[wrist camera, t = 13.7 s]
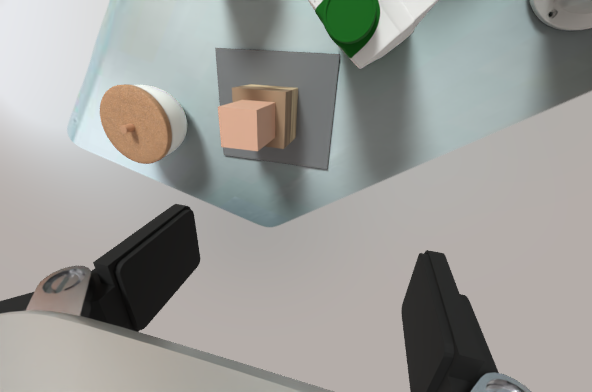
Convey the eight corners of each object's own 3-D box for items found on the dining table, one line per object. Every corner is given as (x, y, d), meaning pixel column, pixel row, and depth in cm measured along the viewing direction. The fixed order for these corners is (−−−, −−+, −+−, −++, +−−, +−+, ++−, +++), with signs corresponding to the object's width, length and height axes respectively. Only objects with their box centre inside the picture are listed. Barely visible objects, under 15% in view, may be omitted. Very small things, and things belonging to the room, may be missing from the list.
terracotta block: (275, 102, 37) (256, 110, 31) (275, 137, 40) (257, 151, 34) (242, 99, 38) (217, 106, 32) (244, 134, 41) (221, 146, 35)
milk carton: (327, 22, 38) (289, -11, 21) (382, -37, 34) (392, -140, 16) (364, 73, 40) (358, 81, 22) (421, 23, 35) (468, -15, 18)
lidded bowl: (172, 160, 55) (130, 180, 46) (129, 107, 52) (75, 117, 43) (212, 127, 50) (174, 143, 40) (166, 65, 47) (113, 66, 37)
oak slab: (298, 87, 42) (292, 89, 39) (295, 137, 46) (290, 142, 43) (251, 84, 44) (242, 85, 41) (252, 132, 48) (244, 137, 45)
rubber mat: (339, 54, 39) (339, 54, 39) (327, 168, 48) (327, 169, 47) (216, 48, 43) (215, 47, 43) (224, 154, 52) (223, 155, 51)
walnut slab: (292, 89, 39) (285, 92, 36) (290, 142, 43) (284, 148, 40) (242, 85, 41) (231, 87, 38) (244, 137, 45) (234, 142, 42)
